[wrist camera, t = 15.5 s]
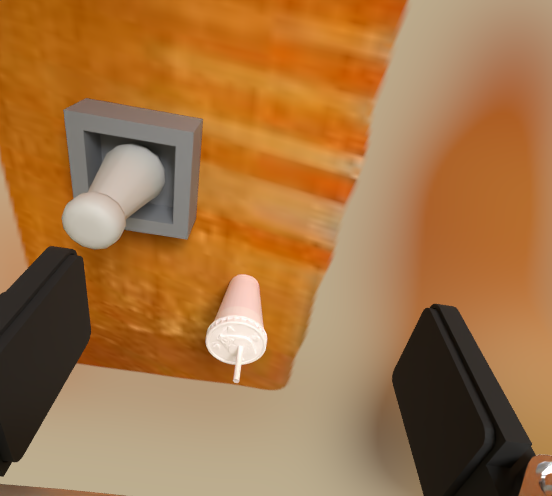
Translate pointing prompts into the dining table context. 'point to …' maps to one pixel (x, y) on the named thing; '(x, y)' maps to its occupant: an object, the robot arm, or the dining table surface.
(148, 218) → the socket holder
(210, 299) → the dining table surface
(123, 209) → the salt shaker
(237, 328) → the smoothie
